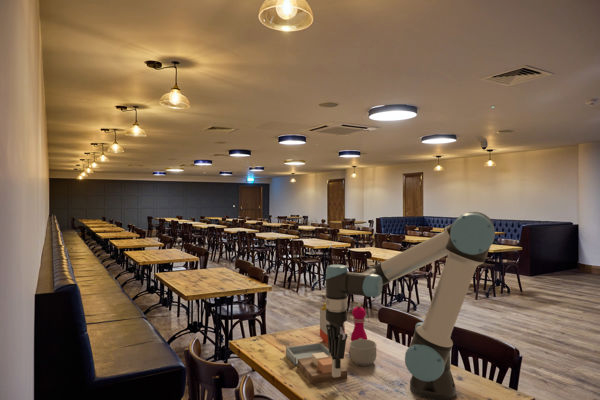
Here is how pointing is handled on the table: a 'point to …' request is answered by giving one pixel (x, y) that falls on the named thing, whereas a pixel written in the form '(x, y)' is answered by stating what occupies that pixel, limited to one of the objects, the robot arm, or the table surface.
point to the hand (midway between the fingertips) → (336, 376)
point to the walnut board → (318, 371)
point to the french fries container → (324, 324)
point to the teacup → (363, 351)
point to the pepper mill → (358, 323)
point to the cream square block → (318, 357)
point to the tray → (304, 351)
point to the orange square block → (325, 365)
